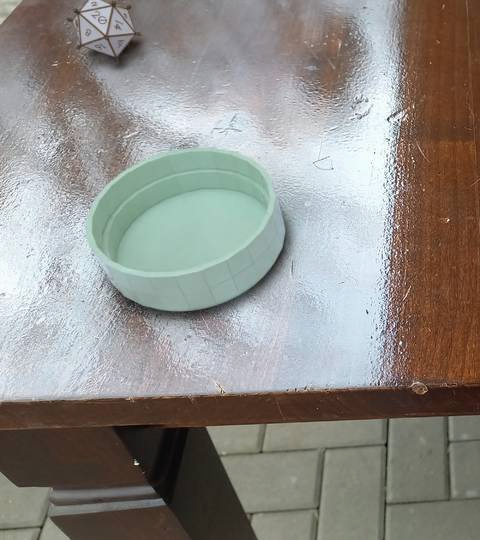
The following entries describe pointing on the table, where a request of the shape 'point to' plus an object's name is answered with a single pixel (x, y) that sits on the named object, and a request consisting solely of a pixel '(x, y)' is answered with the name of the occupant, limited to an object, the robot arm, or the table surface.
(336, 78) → the table surface
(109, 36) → the game die
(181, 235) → the bowl
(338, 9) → the table surface
